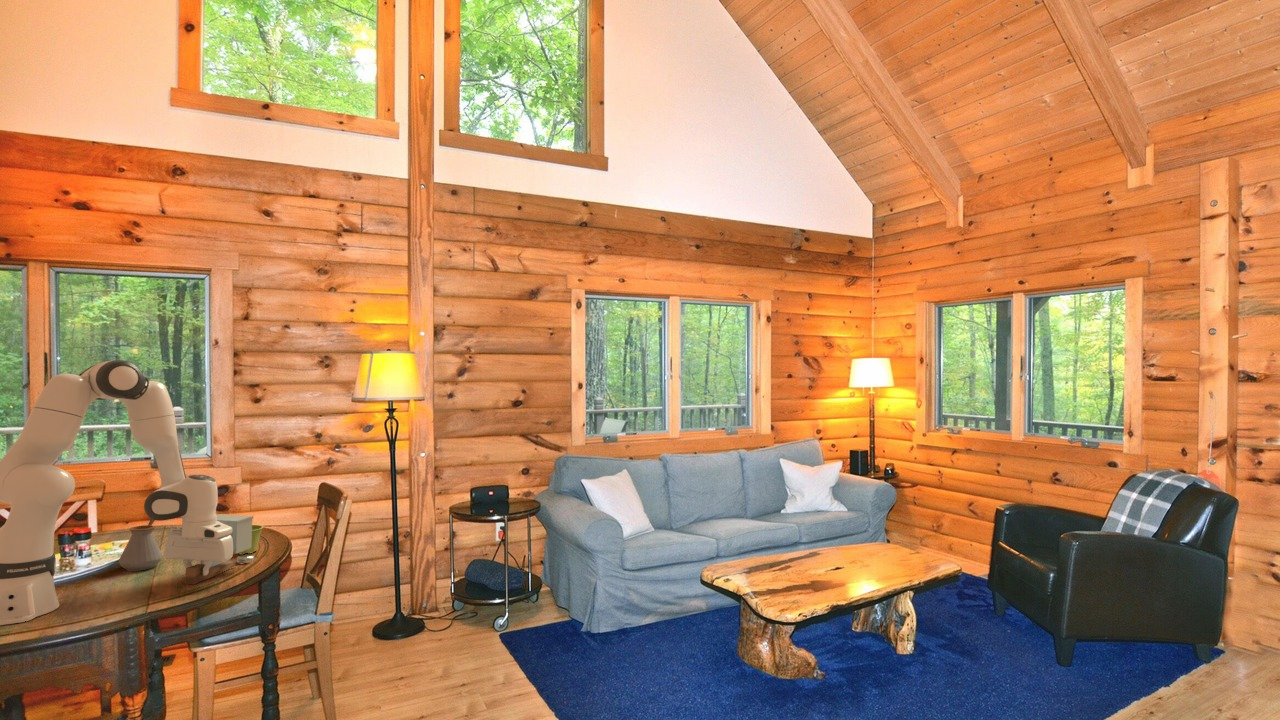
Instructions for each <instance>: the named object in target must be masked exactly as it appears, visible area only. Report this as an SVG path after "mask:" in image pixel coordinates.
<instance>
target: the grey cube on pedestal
mask: <svg viewBox="0 0 1280 720" xmlns="http://www.w3.org/2000/svg"><path fill="white" fill-rule="evenodd" d="M216 515H217V521H219V522H221V523H223V524H225V525H228V526H230V527H232V533H231V534H229V535H230V536H231V537H232V539H233V555H236V554H238V553H239V552H242V551H244V550H247V549H250V548H251V546H252V525H253V519H254V515H240V514H224V513H220V514H219V513H218V514H217V513H216ZM220 563H221V562H213V563H212V565H211V566H210V567H212V566H215V565H218V564H220ZM200 564H204V561H200Z"/></svg>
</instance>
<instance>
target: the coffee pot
mask: <svg viewBox="0 0 1280 720" xmlns="http://www.w3.org/2000/svg"><path fill="white" fill-rule="evenodd" d="M155 521H156V520H154V519H152V518H150V520H149V522H148V523H147V524H145V525H136V526H133V527H130V528H129V531H130V533H131V536H130V538H129V539H128V542H127V543H126V546H125V547H124V549H123V552H121V555H120V557H119V558H118V564H119V565H120V567H121V568H123V569H125V570H126V571H127V572H139V571H144V570H150V569H153V568H154V567H156V565H157V564H159V563H161V561H162V559H163V558H164V554H163V552H162V550H161V549H160V547H159V545H158V543H157V540H156V539H155V538H154V536H153V533H152V532H153V531H154V530H155V528H156V527H155V526H154V525H153V524H154V522H155Z"/></svg>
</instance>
